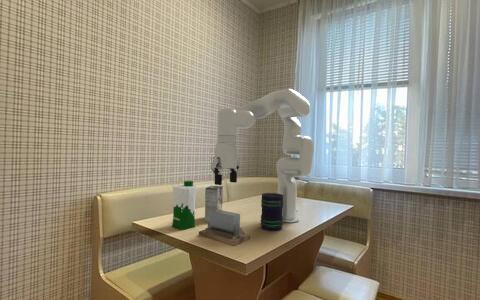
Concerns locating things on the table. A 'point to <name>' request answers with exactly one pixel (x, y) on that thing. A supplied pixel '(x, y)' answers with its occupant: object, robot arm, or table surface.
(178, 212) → the milk carton
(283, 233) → the table surface
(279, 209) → the storage jar
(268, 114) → the robot arm
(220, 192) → the coffee box
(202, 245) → the table surface
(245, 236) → the dock
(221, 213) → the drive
